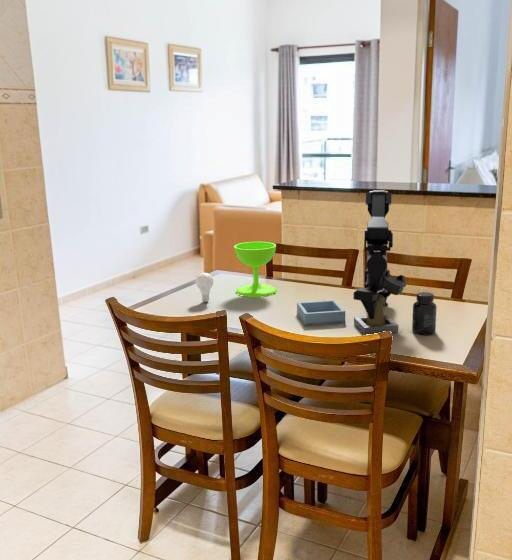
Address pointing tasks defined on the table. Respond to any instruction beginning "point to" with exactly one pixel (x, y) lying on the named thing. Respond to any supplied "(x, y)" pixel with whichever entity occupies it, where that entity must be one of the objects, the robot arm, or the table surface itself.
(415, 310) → the supplement bottle
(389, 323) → the metal collar
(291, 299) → the table surface
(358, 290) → the robot arm
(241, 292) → the wineglass
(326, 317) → the plastic tray
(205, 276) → the lightbulb
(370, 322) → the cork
